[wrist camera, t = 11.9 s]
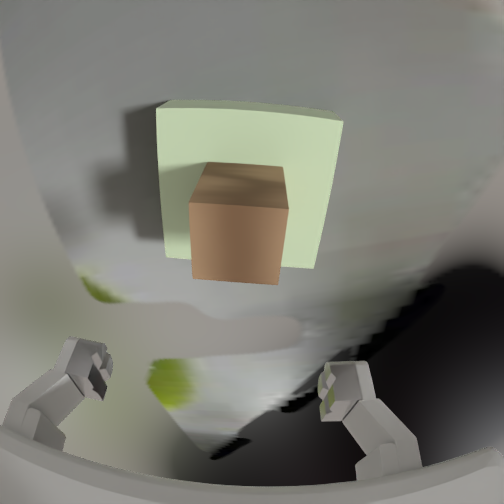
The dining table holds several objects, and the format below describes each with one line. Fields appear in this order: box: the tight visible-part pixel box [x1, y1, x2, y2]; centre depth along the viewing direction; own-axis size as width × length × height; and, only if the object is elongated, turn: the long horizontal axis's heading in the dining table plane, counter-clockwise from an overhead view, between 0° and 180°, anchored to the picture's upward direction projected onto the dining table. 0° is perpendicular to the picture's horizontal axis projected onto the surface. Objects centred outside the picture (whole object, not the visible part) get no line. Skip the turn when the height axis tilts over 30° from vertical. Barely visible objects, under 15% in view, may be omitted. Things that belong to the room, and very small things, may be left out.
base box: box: [156, 100, 343, 269], centre depth 23 cm, size 12×12×4 cm
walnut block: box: [189, 162, 289, 285], centre depth 19 cm, size 5×5×6 cm
